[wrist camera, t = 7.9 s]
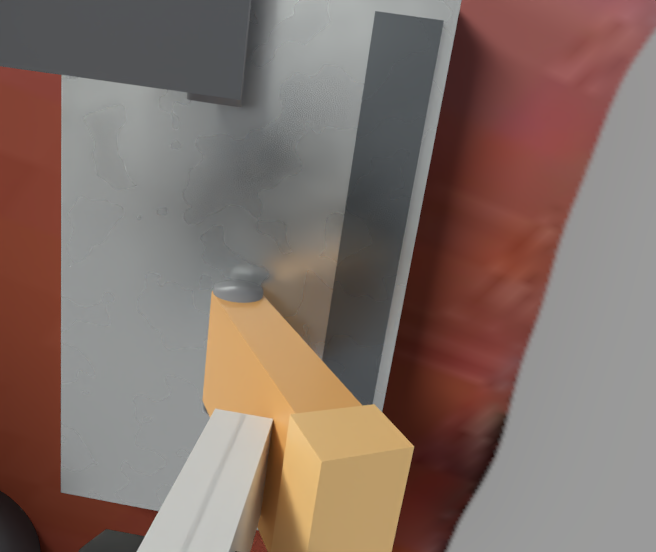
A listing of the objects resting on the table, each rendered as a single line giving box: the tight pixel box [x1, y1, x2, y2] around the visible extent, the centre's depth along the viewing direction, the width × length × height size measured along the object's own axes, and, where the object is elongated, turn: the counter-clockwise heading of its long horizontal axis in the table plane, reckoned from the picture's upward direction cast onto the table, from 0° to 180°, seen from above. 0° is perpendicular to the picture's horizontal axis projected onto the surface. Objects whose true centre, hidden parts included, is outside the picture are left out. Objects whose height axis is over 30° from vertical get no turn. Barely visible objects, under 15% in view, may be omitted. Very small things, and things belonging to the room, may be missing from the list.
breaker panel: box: [61, 0, 461, 530], centre depth 20 cm, size 12×20×3 cm, turn 172°
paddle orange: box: [202, 280, 414, 552], centre depth 15 cm, size 2×4×10 cm, turn 172°
